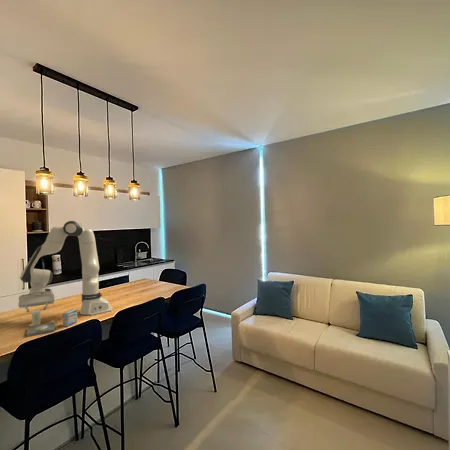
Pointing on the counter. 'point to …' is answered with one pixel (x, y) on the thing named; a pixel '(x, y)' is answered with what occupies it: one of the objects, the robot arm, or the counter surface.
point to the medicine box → (69, 318)
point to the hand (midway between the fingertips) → (36, 310)
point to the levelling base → (35, 332)
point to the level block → (36, 317)
